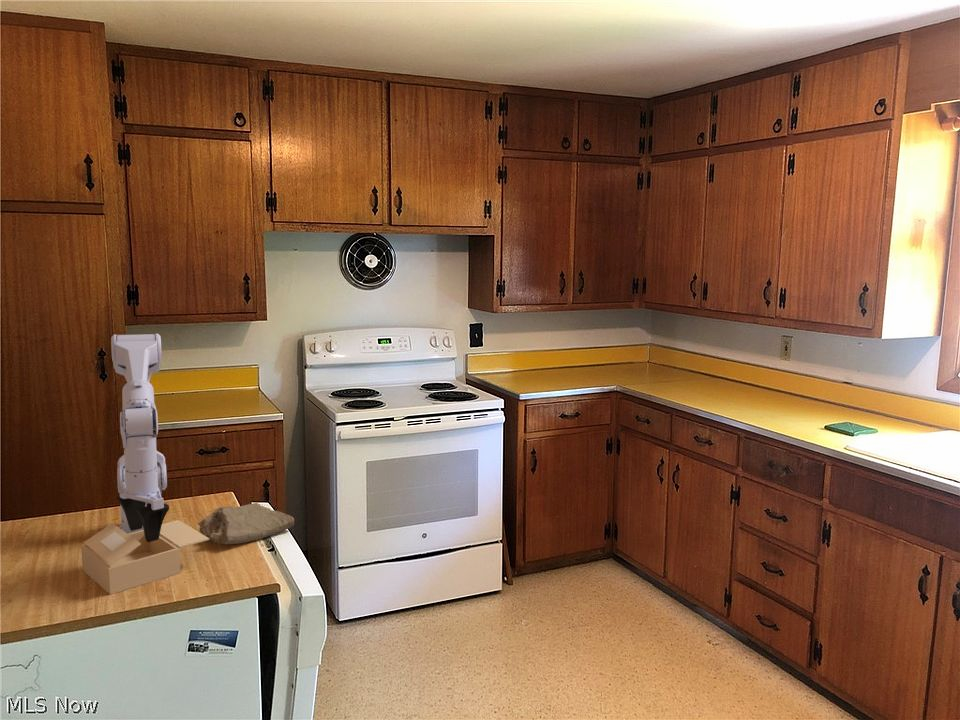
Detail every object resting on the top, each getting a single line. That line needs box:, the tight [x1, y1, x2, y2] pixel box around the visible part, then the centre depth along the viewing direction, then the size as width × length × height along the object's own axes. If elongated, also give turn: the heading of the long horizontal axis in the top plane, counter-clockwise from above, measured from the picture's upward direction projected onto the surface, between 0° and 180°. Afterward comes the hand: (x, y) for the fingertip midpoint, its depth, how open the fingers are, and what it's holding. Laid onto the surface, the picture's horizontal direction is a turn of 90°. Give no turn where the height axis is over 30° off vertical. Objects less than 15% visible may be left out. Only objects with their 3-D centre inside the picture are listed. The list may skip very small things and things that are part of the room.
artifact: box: [197, 502, 295, 545], centre depth 163 cm, size 18×7×15 cm
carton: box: [80, 519, 210, 596], centre depth 145 cm, size 14×19×5 cm
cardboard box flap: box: [83, 522, 141, 566], centre depth 140 cm, size 14×6×1 cm, turn 47°
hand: (144, 534), depth 144 cm, fingers open, 7 cm apart
